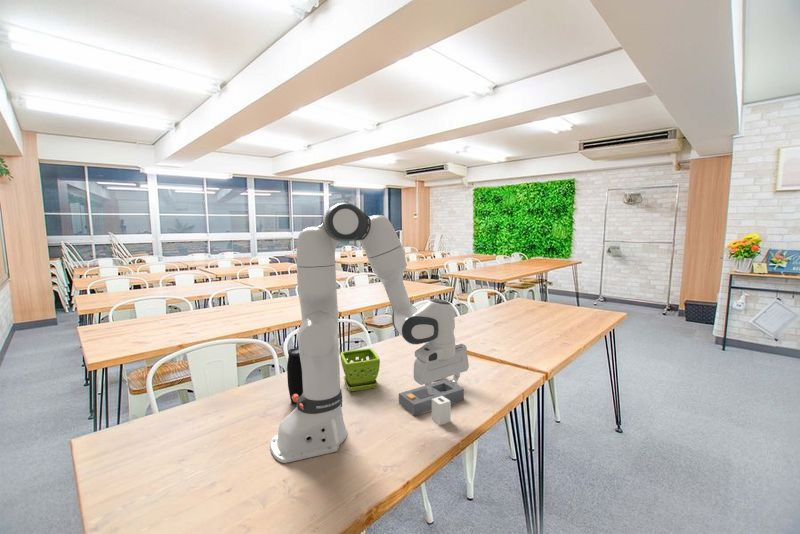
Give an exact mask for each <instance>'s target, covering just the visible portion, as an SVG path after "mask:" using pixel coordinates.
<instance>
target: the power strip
mask: <svg viewBox="0 0 800 534" xmlns="http://www.w3.org/2000/svg"><path fill="white" fill-rule="evenodd" d="M430 386H431V387H432V388H434V394H432V395H430V394H428V388H427V387H426V386H425V385H421V386H419V387H416V388H412V389H409V390H405V391H402V392H398V405H400V406H401V407H402V408H404V409H405V410H406V411H408V412H409V413H410V414H411V415H413V416H414V417H415V416H418V414H419V415H422V414H425V413H426V412H431V411H432V399H434V398H437V397H440V396H443V397H445V398H447V399H448V400H450V401H451V404H454V403H457V402H460V401H463V400H465V389H464V388H463V387H461V386H459V385H458V384H457V386H455V387H453V386H451V380H449V379H447V378H446V379H443V380H439V381H437V382H436V381H435V382H432V385H430ZM421 413H422V414H421Z"/></svg>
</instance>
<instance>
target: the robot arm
mask: <svg viewBox="0 0 800 534" xmlns="http://www.w3.org/2000/svg"><path fill="white" fill-rule="evenodd" d="M354 241H358V242H359V243H360V244H361V246H362V248H363V249H364V251H365V254H366V259H368V262H369V264H370V267H371V268H372V271H373V272H374V274H375V275H376V276H377V278H378V279H379V281H380V282H381V284H382V285H383V287H384V289H385V292H386V295H387V298H388V300H389V302H390V305H391V309H392V316H391V317H392V318H391V321H392V326H393V328H394V330H395V331H396V332H397V333H399V334H400V336H401V337H402V338H403V339H404V341H406V342H407V343H408V344H411V345H420V344H424V345H423V346H421V347H419V348H417V349H416V350H415V351H414V357H415V358H416V359H415V360H414V362H413V380H414V381H415V382H416V383H417V384H418V385H421V386H426V387H427V388H428V394H430V395H432V394H434V388H432V387H431V386H430V385H432V384H433V383H434V382H436V381H438V380H439V381H440V380H442V379H443V380H444V379H445V378H446V379H447V378H448V377H451V376H453V377H452V380H450V381H451V386H453V387H455V386H457V385H458V381H459V379H460V377H461V373H465V372H467V371H468V370H469V367H470V365H469V364H470V363H469V357H468V353H467V352H468V351H467V346H466V344H463V343H459V344H456V337H455V327H456V326H455V325H456V322H455V321H456V320H455V319H456V318H455V312H454V307H453V305H452V304H451V303H450V302H449V301H447V300H444V299H438V298H431V299H429V300H428V301H427V302H426V303H425V304H424V305H423V306H421V307H420V308H418V309H417V307H415V306H414V305H413V303H412V302H411V301H410V297H409V295H408V292H407V289H406V286H405V284H404V279H403V278H404V277H403V276H404V274H405V271H406V269H407V265H408V264H407V259H406V254H405V250H404V247H403V245H402V242H401V240H400V237H399V236H398V234H397V232H396V230H395V228H394V226H393V224H392V222H391V221H390V219H389V218H388V217H387V216H385V215H382V214H373V215H371V216H369V215H368V214H366V213H365V212H364V211H363V210H362V209H360V208H359V207H358V206H356V205H355V204H353V203H351V202H346V201H345V202H342V201H341V202H337V203H335V204H332V205H331V206H330V207H329V208H328V209H327V210H326V211H325V214H324V217H323V219H322V221H321V223H320V225H318V226H317V225H316V226H310V227H309V226H308V227H306V228H304V229H303V230H301V231H300V232H299V234H298V238H297V244H296V278H297V294H298V299H299V304H300V312H301V313H300V314H301V324H300V326H299V329H298V331H297V343H298V344H297V345H298V348H299V354H300V361H301V367H302V381H303V393H302V395H301V396H300V397H299V396H298V394H294V395H293V396H292V399H293V401H294V402H297V405H296V407H295V408H294V409H293V410H292V411H291V412H290V413H289V414H287V416H285V417H284V418H283V419H282V420H281V422H280V423H279V425H278V430H277V431H278V432H277V434H275V435H274V436H273V437H272V438H271V439H270V443H269V445H270V446H269V447H270V452H271V454H272V456H273V457H274V459H275V460H276V461H278V462H280V463H283V464H287V463H291V462H295V461H300V460H304V459H305V460H306V459H308V458H309V459H310V458H313V457H318V456H322V455H327V454H331V453H332V454H333V453H335V452H337V451H338V450H339V448H340V445H341V444H342V443H343V442H344V441H345V440H346V438H347V437H348V429H347V428H346V424H345V421H344V417H343V416H344V415H343V410H342V409H343V408H342V407H343V390H342V389H341V376H340V375H341V372H340V370H341V369H340V357H339V355H340V354H339V351H340V350H339V309H338V308H339V307H338V293H337V274H336V273H337V271H336V268H337V267H336V249H337V245H338V244H339V243H340V242H354ZM425 342H428V343H425Z"/></svg>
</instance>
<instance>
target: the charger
mask: <svg viewBox="0 0 800 534" xmlns="http://www.w3.org/2000/svg"><path fill="white" fill-rule="evenodd" d="M451 404H452V403H451V401H450V400H448V399H447V398H445V397H443V396H440V397H437V398H434V399H432V410H431V420H432V421H433V422H435V423H436V424H437V425H439V426H441V425H444V424H447V423H450V422H451V421H452V420H451V417H452V416H451V415H452V413H451V409H452V407H451Z"/></svg>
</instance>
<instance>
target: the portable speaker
mask: <svg viewBox="0 0 800 534" xmlns="http://www.w3.org/2000/svg"><path fill="white" fill-rule="evenodd" d="M287 354H288V358H287V364H286V372H287V375H286V376H287V387H288V388H287V389H288V393H289V398H290V403H291V404H292V405H294V404H295V406H297V402H294V401H293V399H292V396H293V395H294V394H298V396H299V397H300V396H301V395H302V393H303V381H302V367H301V361H300V354H299V347H294V348H289V349H288V351H287Z"/></svg>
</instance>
